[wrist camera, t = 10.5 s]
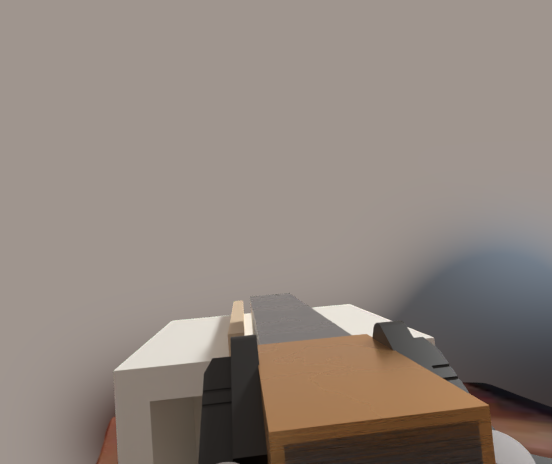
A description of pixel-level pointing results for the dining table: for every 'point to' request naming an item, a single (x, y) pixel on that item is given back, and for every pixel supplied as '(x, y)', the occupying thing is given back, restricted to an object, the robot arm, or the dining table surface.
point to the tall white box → (189, 381)
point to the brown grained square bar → (356, 397)
